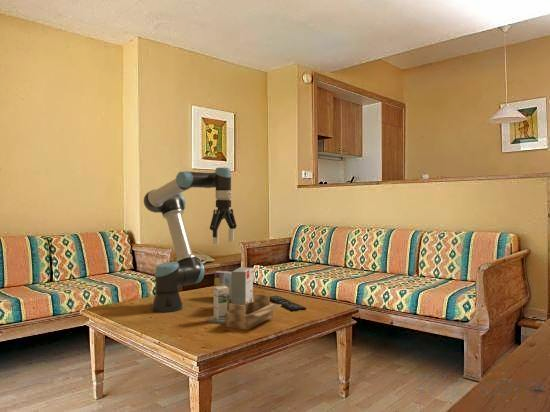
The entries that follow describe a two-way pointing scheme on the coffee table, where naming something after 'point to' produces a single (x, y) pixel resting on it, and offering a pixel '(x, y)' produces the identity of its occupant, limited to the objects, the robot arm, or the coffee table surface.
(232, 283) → the hard drive box
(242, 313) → the light wood open box
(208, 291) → the coffee table surface
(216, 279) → the snack box
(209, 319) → the plate
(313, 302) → the coffee table surface
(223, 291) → the syrup box
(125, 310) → the coffee table surface
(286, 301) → the remote control
